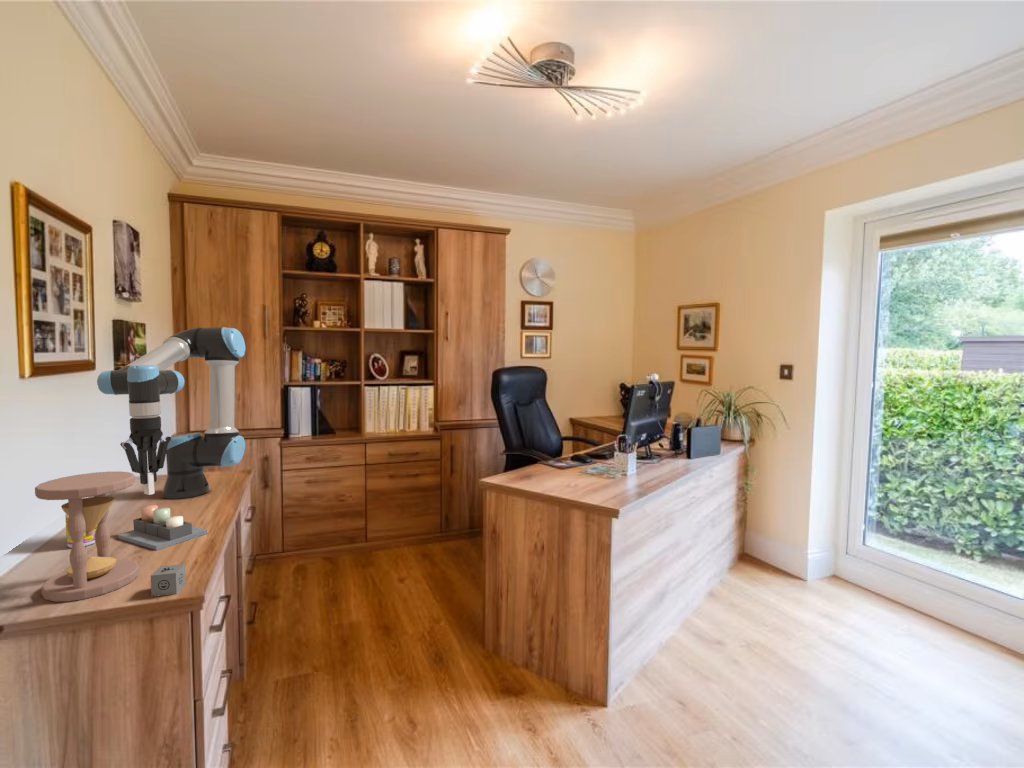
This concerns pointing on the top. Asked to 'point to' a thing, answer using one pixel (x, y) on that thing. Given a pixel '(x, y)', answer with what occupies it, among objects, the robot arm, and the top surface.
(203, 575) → the top surface
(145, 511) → the pink rounded piece
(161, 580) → the dice cube
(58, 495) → the hourglass
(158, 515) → the pale green rounded piece
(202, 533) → the panel
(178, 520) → the cream button
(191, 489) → the robot arm
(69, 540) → the supplement bottle
